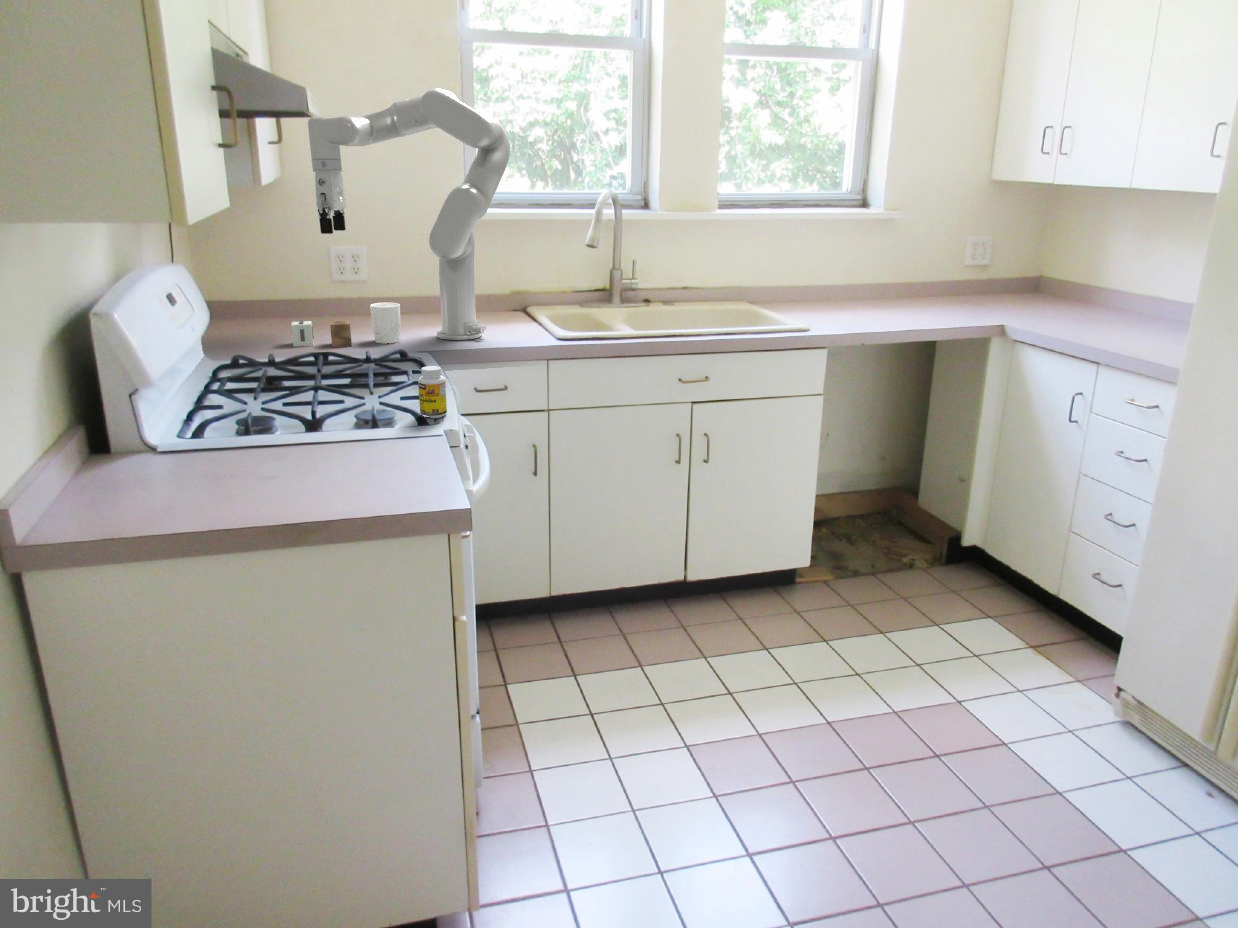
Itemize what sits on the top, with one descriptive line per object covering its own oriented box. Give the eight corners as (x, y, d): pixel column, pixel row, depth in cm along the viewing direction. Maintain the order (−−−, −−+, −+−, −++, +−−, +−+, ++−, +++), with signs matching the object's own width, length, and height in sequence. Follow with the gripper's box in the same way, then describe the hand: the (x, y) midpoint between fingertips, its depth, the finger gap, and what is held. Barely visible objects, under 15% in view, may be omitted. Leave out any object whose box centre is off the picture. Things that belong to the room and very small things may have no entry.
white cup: (367, 341, 247) (364, 304, 243) (391, 337, 252) (389, 301, 249) (383, 345, 242) (380, 308, 238) (408, 341, 247) (405, 305, 244)
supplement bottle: (415, 417, 179) (411, 369, 176) (429, 410, 184) (426, 363, 180) (438, 420, 177) (435, 372, 174) (452, 413, 182) (449, 366, 178)
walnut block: (351, 342, 245) (349, 320, 243) (351, 346, 240) (349, 324, 238) (332, 343, 244) (329, 321, 242) (332, 347, 239) (330, 325, 237)
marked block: (314, 342, 245) (312, 320, 243) (314, 346, 240) (311, 323, 238) (294, 343, 244) (291, 320, 242) (293, 347, 239) (291, 324, 237)
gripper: (329, 167, 233) (335, 235, 239) (351, 165, 249) (357, 229, 255) (300, 167, 233) (308, 234, 239) (325, 165, 250) (331, 229, 255)
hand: (333, 232), depth 247 cm, fingers open, 9 cm apart
